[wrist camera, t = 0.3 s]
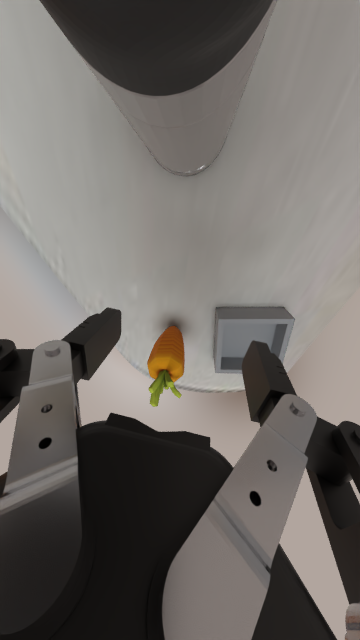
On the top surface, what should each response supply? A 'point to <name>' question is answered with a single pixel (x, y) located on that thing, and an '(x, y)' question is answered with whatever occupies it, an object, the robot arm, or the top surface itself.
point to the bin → (249, 334)
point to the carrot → (166, 363)
